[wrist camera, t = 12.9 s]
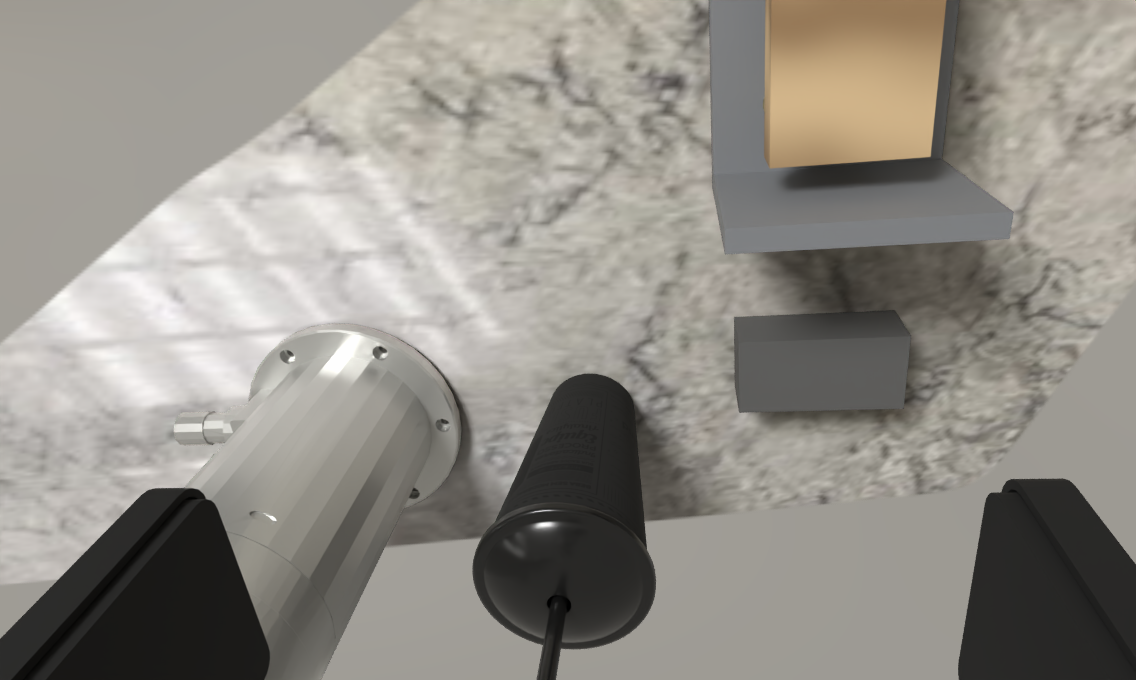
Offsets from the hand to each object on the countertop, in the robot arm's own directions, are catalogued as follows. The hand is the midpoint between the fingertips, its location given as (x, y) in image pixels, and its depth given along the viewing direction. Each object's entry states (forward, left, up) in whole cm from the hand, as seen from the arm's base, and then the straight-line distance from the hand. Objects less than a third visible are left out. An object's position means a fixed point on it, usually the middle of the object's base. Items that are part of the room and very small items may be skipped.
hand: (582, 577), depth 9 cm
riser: (+8, -12, -30) cm, 34 cm away
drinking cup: (-4, -16, -31) cm, 35 cm away
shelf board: (+8, +5, -26) cm, 27 cm away
